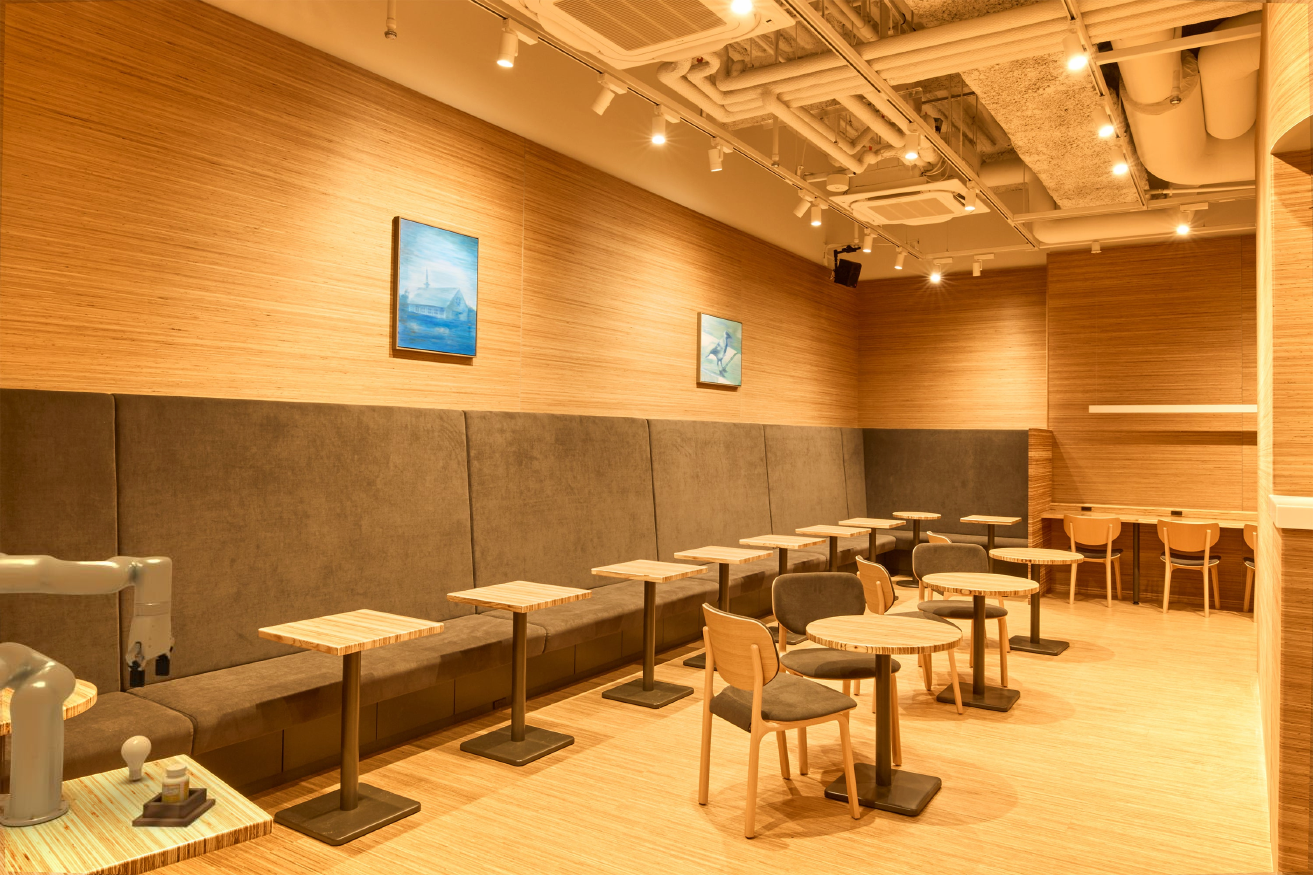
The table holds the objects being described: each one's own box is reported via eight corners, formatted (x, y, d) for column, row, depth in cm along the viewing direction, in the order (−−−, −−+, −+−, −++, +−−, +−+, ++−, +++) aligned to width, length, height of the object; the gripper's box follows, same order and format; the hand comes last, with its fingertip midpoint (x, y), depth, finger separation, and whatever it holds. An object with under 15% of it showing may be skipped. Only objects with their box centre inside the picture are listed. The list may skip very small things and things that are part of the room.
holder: (132, 826, 179) (132, 806, 179) (164, 802, 191) (165, 784, 191) (186, 826, 179) (187, 807, 179) (215, 803, 191) (216, 785, 191)
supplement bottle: (168, 816, 181) (170, 772, 182) (156, 810, 184) (157, 767, 185) (193, 807, 186) (194, 765, 186) (181, 801, 189) (182, 760, 189)
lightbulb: (135, 786, 200) (137, 741, 200) (113, 783, 201) (115, 739, 201) (156, 776, 206) (157, 733, 206) (134, 774, 207) (136, 730, 208)
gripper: (158, 602, 202) (156, 671, 201) (112, 615, 184) (110, 691, 184) (188, 602, 202) (186, 671, 201) (145, 616, 184) (143, 691, 184)
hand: (149, 680), depth 193 cm, fingers open, 9 cm apart
